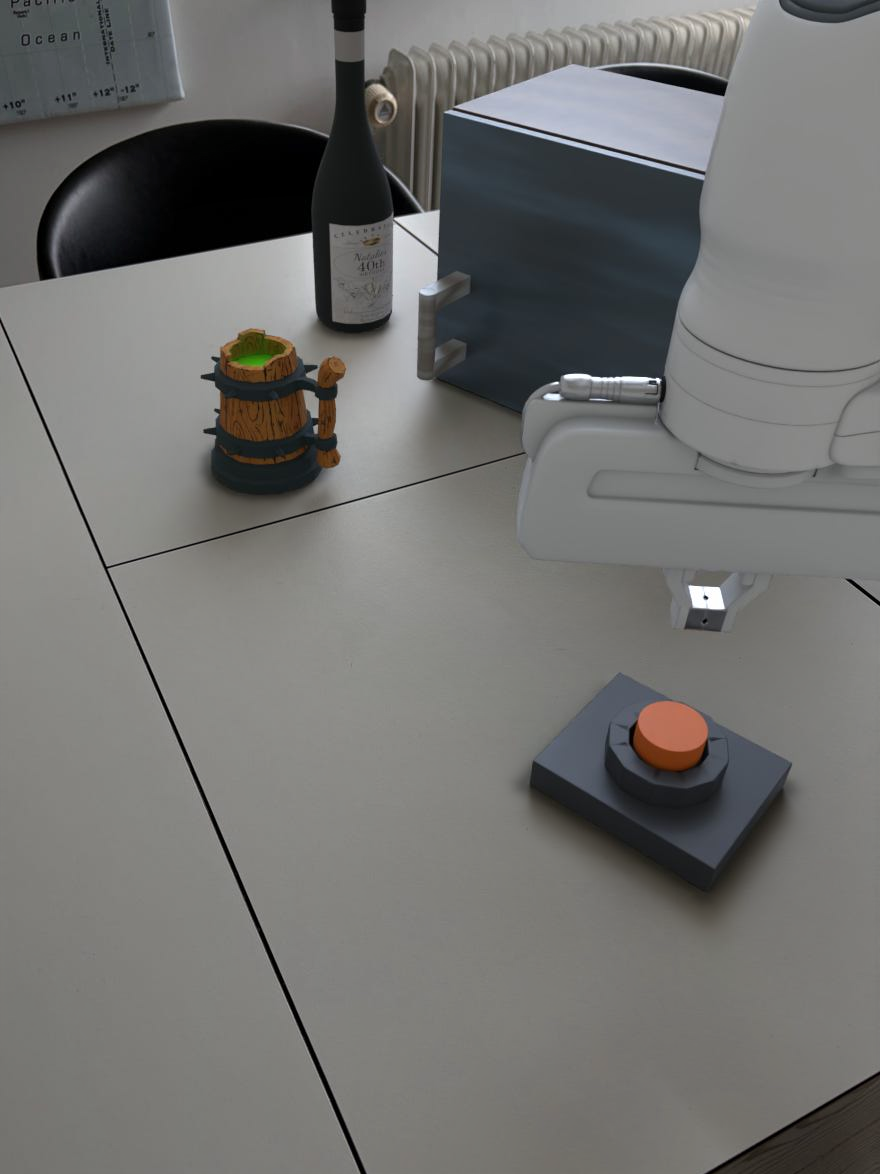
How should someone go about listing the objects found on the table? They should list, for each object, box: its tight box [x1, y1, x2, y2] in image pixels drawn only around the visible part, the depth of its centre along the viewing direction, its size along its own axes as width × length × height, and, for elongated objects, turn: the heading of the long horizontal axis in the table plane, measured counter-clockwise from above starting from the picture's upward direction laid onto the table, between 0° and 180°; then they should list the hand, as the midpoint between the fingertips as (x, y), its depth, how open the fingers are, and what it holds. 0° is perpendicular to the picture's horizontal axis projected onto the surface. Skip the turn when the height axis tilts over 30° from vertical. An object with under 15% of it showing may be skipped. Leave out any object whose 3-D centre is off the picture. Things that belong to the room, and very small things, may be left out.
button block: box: [529, 672, 793, 893], centre depth 62 cm, size 12×10×4 cm
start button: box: [633, 701, 708, 772], centre depth 61 cm, size 4×4×2 cm
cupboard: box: [451, 63, 724, 175], centre depth 92 cm, size 18×26×24 cm
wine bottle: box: [310, 0, 394, 334], centre depth 99 cm, size 8×8×30 cm
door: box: [416, 109, 705, 414], centre depth 85 cm, size 7×26×24 cm, turn 50°
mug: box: [200, 327, 347, 496], centre depth 85 cm, size 13×10×12 cm
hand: (698, 623), depth 54 cm, fingers closed
